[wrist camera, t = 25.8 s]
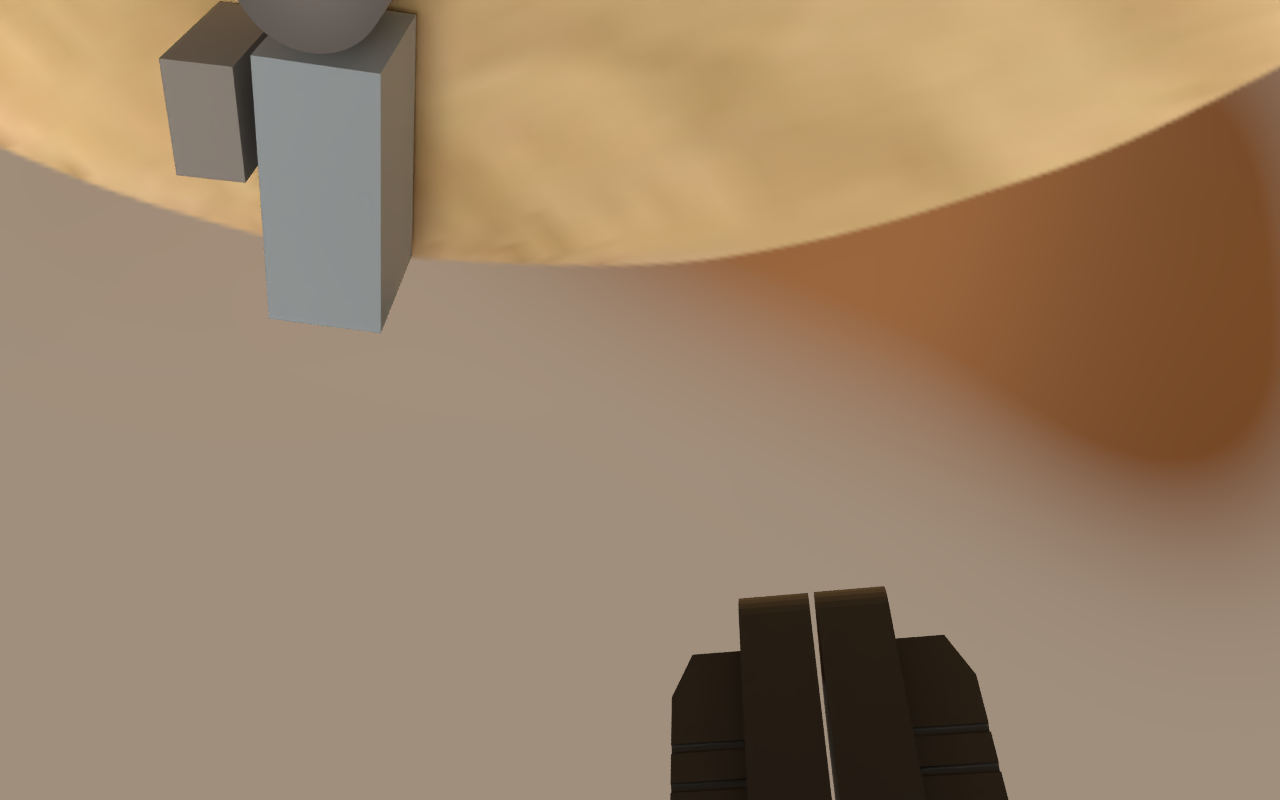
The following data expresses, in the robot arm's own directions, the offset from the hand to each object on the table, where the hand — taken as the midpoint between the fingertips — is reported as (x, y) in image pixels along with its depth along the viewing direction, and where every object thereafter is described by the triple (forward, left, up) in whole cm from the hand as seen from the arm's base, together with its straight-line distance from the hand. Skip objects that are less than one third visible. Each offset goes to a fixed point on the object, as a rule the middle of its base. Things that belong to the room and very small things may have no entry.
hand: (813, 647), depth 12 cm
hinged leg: (-11, -5, -27) cm, 29 cm away
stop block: (-14, -5, -27) cm, 31 cm away
